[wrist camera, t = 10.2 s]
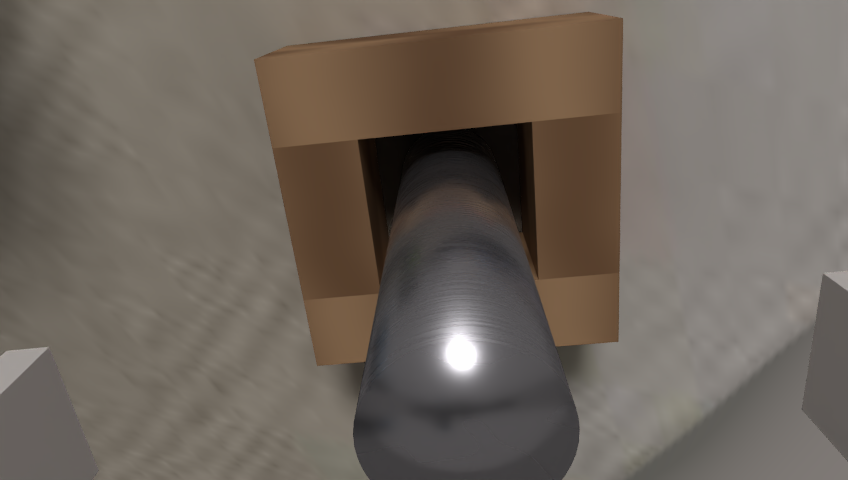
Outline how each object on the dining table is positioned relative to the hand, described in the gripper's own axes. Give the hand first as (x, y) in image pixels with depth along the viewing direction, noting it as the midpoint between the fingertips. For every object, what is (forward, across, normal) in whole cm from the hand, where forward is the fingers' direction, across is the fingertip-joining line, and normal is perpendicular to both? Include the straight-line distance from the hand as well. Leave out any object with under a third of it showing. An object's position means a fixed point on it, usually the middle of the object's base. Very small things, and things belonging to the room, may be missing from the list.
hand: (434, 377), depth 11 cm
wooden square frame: (+12, +1, 0) cm, 12 cm away
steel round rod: (+12, +1, 0) cm, 12 cm away
